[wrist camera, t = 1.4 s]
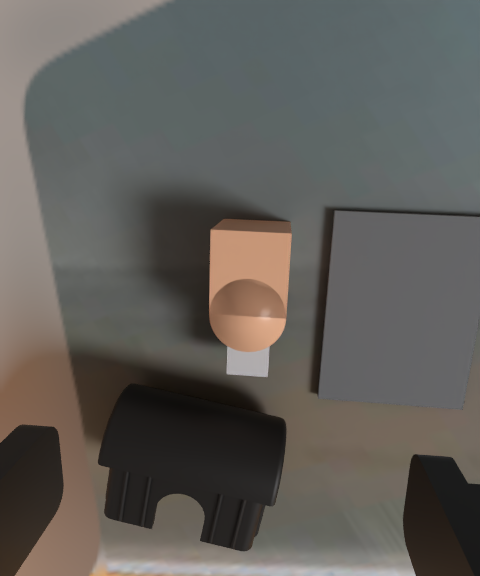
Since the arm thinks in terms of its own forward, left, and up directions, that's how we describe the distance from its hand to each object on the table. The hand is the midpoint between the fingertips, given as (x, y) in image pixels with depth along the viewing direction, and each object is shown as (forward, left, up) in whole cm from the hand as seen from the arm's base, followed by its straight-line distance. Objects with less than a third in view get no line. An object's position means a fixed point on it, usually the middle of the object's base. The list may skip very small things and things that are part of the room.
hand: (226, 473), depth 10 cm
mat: (+2, +8, -18) cm, 20 cm away
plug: (+1, -1, -18) cm, 18 cm away
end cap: (+11, -4, -19) cm, 22 cm away
